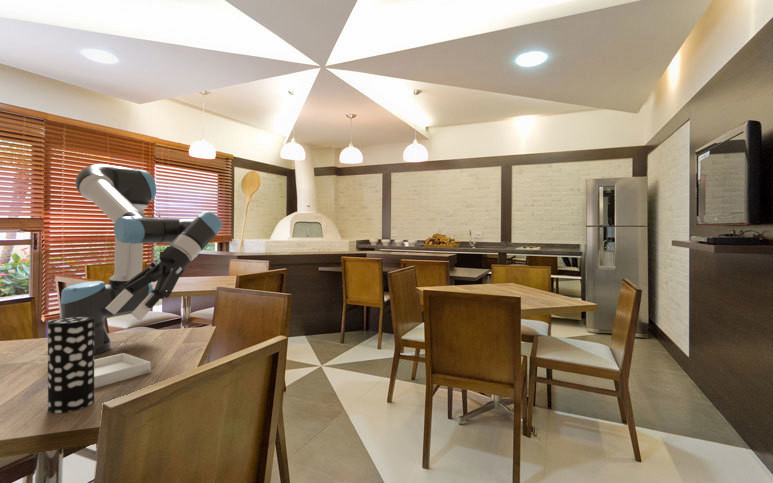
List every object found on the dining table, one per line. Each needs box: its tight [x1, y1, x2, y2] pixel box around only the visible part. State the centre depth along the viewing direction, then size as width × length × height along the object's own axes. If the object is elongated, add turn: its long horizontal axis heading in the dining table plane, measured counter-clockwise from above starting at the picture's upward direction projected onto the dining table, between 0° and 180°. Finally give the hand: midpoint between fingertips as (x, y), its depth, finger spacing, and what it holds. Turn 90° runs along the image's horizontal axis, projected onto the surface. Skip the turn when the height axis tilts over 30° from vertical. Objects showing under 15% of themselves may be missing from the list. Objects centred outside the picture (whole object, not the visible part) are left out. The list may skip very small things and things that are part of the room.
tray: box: [94, 352, 152, 389], centre depth 107 cm, size 16×16×3 cm
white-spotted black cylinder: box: [47, 316, 95, 414], centre depth 88 cm, size 8×8×20 cm
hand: (122, 314), depth 97 cm, fingers open, 13 cm apart
